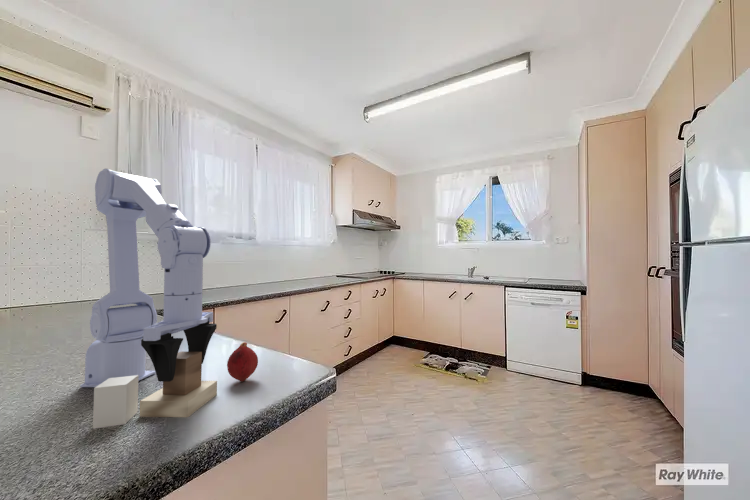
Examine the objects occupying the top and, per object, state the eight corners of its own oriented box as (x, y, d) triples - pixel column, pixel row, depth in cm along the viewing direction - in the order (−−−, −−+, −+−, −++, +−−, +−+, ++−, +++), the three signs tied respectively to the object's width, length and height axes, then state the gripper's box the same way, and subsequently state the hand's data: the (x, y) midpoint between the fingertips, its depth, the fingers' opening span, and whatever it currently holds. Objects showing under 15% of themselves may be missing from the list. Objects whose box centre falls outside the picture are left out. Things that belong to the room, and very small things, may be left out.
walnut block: (162, 394, 49) (163, 358, 49) (180, 384, 53) (181, 351, 53) (185, 395, 49) (185, 358, 49) (201, 385, 53) (201, 351, 53)
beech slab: (139, 419, 47) (140, 400, 47) (175, 396, 55) (175, 380, 55) (188, 420, 47) (188, 401, 47) (216, 397, 55) (217, 380, 55)
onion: (245, 388, 57) (246, 347, 57) (220, 386, 58) (220, 345, 59) (263, 377, 63) (263, 339, 63) (239, 375, 64) (239, 338, 64)
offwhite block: (92, 428, 44) (94, 388, 44) (108, 415, 47) (109, 378, 48) (125, 424, 45) (126, 384, 45) (137, 411, 49) (138, 375, 49)
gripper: (175, 298, 44) (174, 390, 44) (228, 289, 59) (227, 358, 58) (131, 299, 44) (128, 389, 44) (194, 290, 59) (192, 358, 58)
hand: (182, 371), depth 51 cm, fingers open, 7 cm apart
